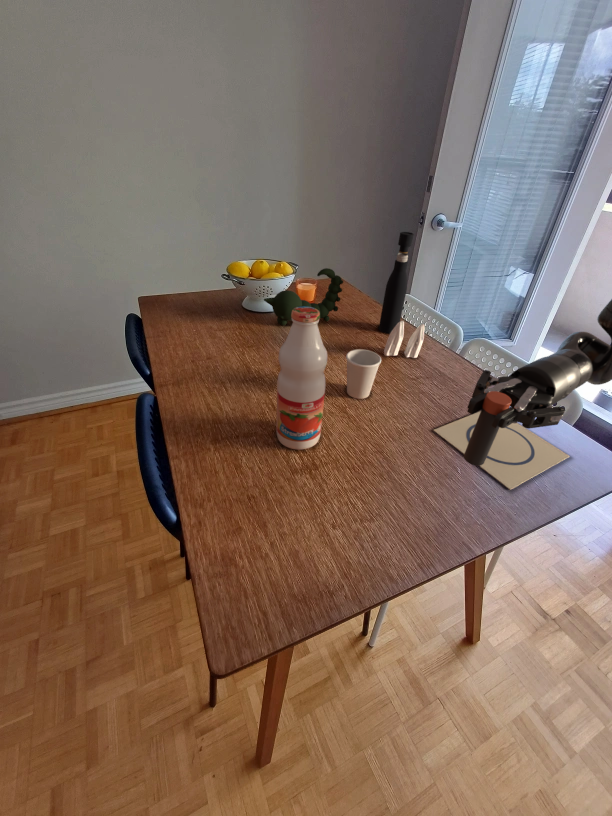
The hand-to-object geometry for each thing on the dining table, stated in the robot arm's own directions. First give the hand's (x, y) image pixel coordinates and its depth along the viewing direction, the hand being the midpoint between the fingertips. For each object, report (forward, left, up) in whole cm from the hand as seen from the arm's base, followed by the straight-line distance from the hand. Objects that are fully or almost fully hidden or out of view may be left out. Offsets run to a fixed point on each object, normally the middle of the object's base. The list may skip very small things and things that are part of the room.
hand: (483, 415), depth 57 cm
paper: (+8, -26, -22) cm, 35 cm away
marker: (0, -3, -10) cm, 10 cm away
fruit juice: (+30, +12, -22) cm, 39 cm away
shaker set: (+48, -33, -22) cm, 62 cm away
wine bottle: (+64, -42, -22) cm, 80 cm away
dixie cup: (+38, -10, -22) cm, 45 cm away
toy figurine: (+80, -18, -22) cm, 85 cm away
